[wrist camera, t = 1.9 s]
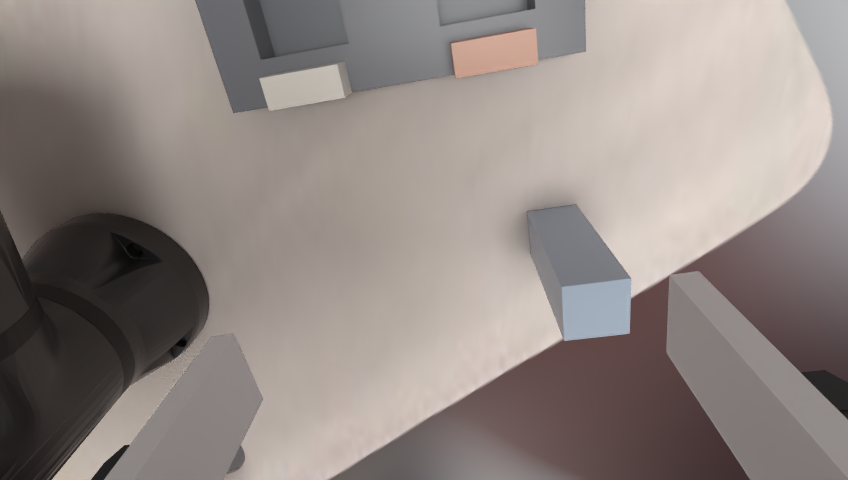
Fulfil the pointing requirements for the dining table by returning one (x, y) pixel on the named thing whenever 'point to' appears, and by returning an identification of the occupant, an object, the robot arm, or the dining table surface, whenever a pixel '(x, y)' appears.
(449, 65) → the socket block
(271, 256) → the dining table surface
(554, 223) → the plug
